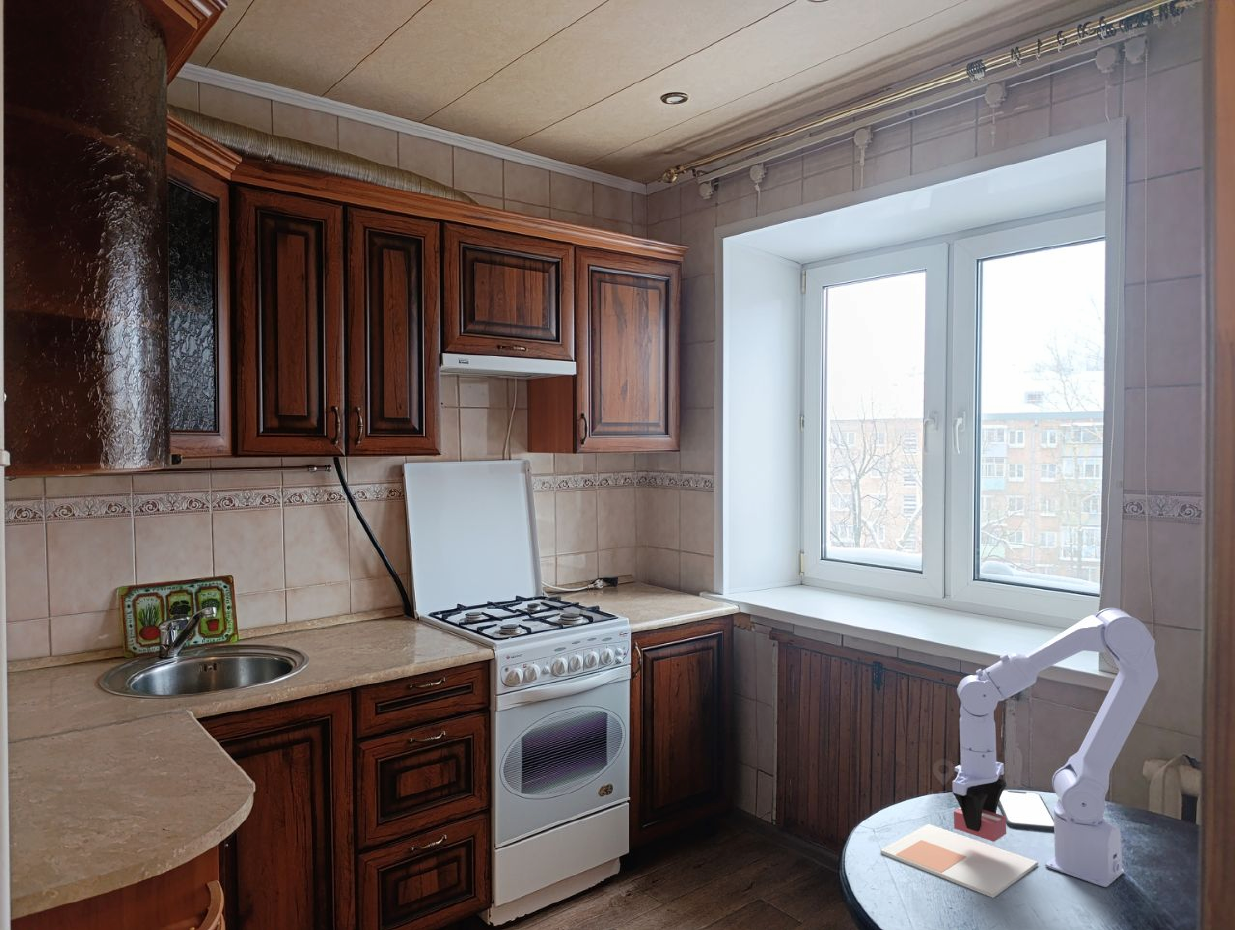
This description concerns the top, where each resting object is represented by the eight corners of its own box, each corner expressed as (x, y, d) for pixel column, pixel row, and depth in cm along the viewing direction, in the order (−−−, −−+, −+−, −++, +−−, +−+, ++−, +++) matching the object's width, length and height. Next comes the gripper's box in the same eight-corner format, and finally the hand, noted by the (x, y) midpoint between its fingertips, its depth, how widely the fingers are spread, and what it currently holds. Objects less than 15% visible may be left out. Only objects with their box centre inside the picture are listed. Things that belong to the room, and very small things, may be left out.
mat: (1038, 865, 137) (1037, 861, 137) (993, 897, 127) (993, 893, 127) (928, 826, 153) (928, 823, 153) (880, 853, 142) (880, 849, 142)
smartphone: (1059, 836, 149) (1040, 800, 165) (1059, 827, 149) (1040, 792, 165) (1007, 831, 152) (992, 796, 167) (1007, 822, 152) (992, 788, 167)
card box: (1006, 833, 140) (1005, 815, 140) (993, 841, 137) (993, 823, 137) (967, 821, 145) (966, 803, 145) (954, 828, 142) (953, 810, 142)
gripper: (975, 732, 149) (977, 806, 149) (934, 750, 140) (937, 829, 139) (1014, 741, 143) (1016, 818, 143) (974, 761, 134) (977, 843, 134)
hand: (980, 824), depth 141 cm, fingers closed on card box, 4 cm apart
